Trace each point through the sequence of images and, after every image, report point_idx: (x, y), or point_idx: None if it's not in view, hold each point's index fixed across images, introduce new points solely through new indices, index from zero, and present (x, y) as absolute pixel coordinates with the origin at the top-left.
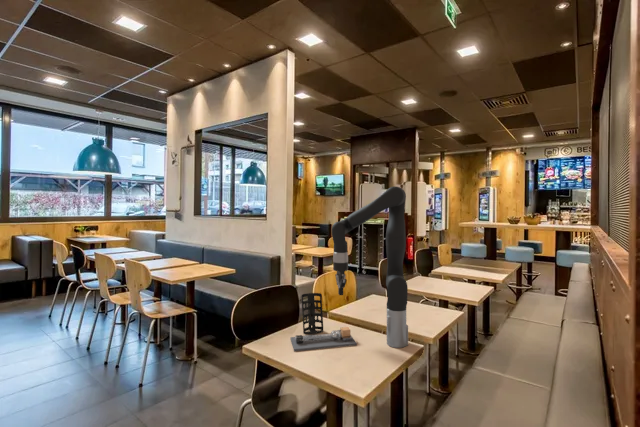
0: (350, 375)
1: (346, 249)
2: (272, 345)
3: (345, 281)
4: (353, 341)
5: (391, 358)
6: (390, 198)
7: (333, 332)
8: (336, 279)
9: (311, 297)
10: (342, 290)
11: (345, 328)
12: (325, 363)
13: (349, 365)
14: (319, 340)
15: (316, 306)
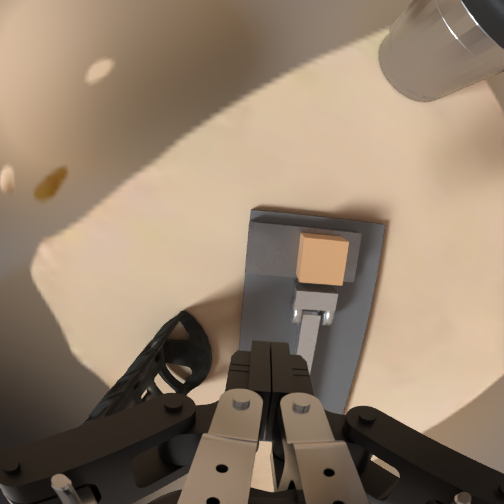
0: None
1: None
2: (262, 474)
3: (494, 482)
4: (365, 231)
5: (498, 158)
6: None
7: (301, 314)
8: (117, 496)
9: None
10: (311, 389)
11: (320, 260)
12: (444, 370)
13: (484, 307)
14: None
15: (118, 390)
